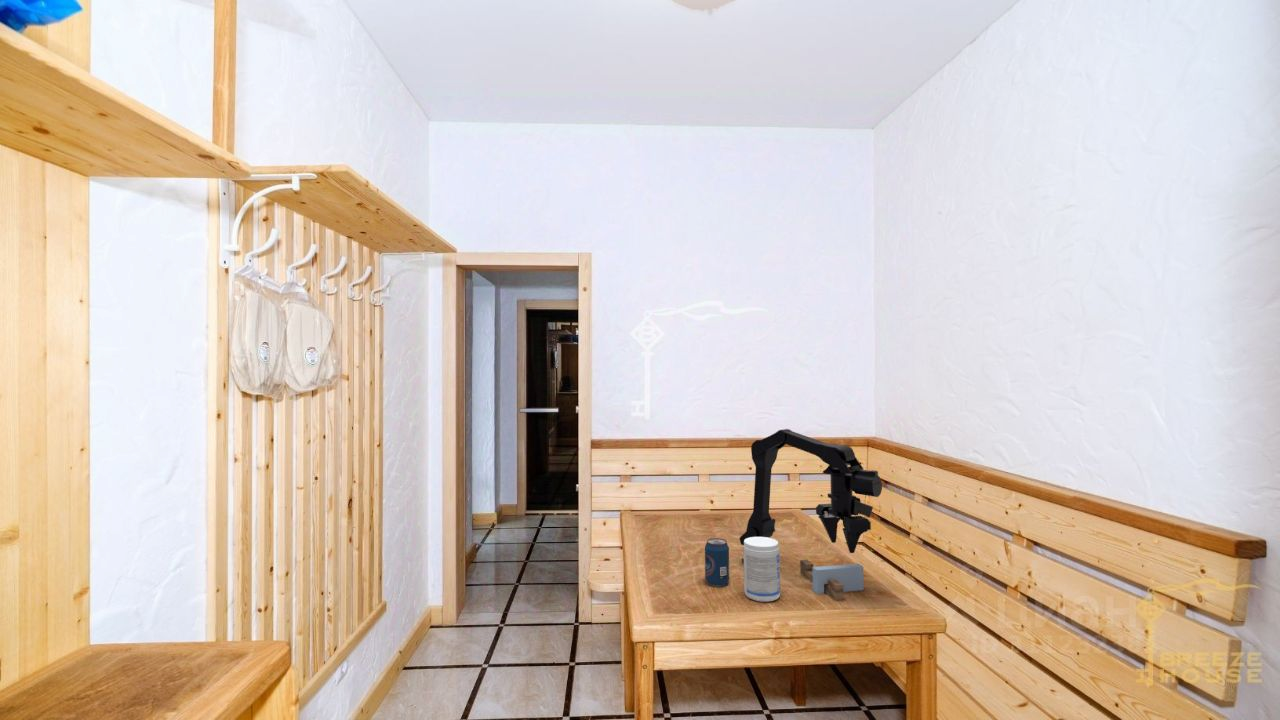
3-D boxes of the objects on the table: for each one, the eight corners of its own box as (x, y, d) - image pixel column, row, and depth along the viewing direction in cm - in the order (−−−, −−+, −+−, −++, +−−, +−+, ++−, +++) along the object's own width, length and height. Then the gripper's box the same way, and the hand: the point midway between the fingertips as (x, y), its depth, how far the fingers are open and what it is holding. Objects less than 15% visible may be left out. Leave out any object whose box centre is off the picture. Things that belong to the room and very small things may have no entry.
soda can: (700, 580, 159) (700, 539, 159) (721, 576, 161) (720, 536, 162) (713, 589, 152) (712, 546, 153) (734, 585, 155) (733, 542, 155)
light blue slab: (817, 594, 149) (816, 570, 149) (812, 590, 151) (812, 567, 151) (863, 590, 151) (863, 566, 151) (858, 586, 153) (858, 563, 154)
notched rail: (843, 599, 145) (843, 584, 145) (836, 600, 144) (835, 585, 144) (807, 572, 164) (806, 559, 164) (800, 573, 164) (800, 559, 164)
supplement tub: (786, 601, 144) (785, 545, 144) (753, 604, 142) (752, 548, 142) (769, 587, 154) (769, 534, 154) (738, 590, 151) (737, 537, 152)
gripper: (888, 497, 144) (889, 556, 144) (848, 483, 162) (850, 535, 162) (850, 499, 142) (851, 559, 142) (814, 485, 160) (815, 538, 160)
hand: (842, 547), depth 151 cm, fingers open, 9 cm apart
